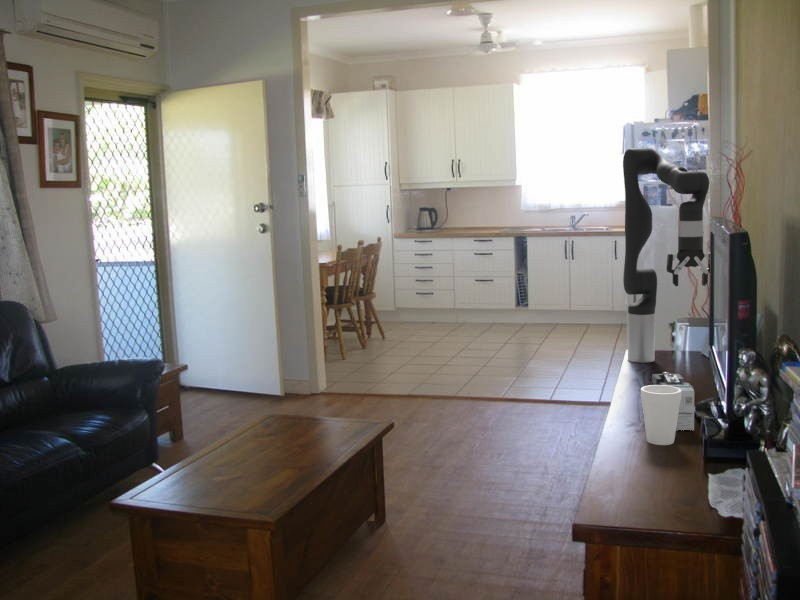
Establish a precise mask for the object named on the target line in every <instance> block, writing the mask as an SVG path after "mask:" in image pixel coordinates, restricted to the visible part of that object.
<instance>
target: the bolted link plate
mask: <svg viewBox="0 0 800 600" xmlns="http://www.w3.org/2000/svg"><path fill="white" fill-rule="evenodd" d="M674 374H675V373H669V374H668V375H664V383H666V384H667V385H680V381H679V380H678V378H677V376H676V375H674Z"/></svg>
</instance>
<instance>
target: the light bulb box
mask: <svg viewBox="0 0 800 600" xmlns="http://www.w3.org/2000/svg"><path fill="white" fill-rule="evenodd" d="M667 386H674V387H677V388H680V389H681V390H682V396H681V401H680V407H679V414H678V420H677V427H676V432H677V431H678V430H681V431H682V430H683V431H684V430H690V431H691V430H692V431H695V389H693V388H694V387H693V388H691V387H690V386H689V385H667ZM681 431H680V432H681Z"/></svg>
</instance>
